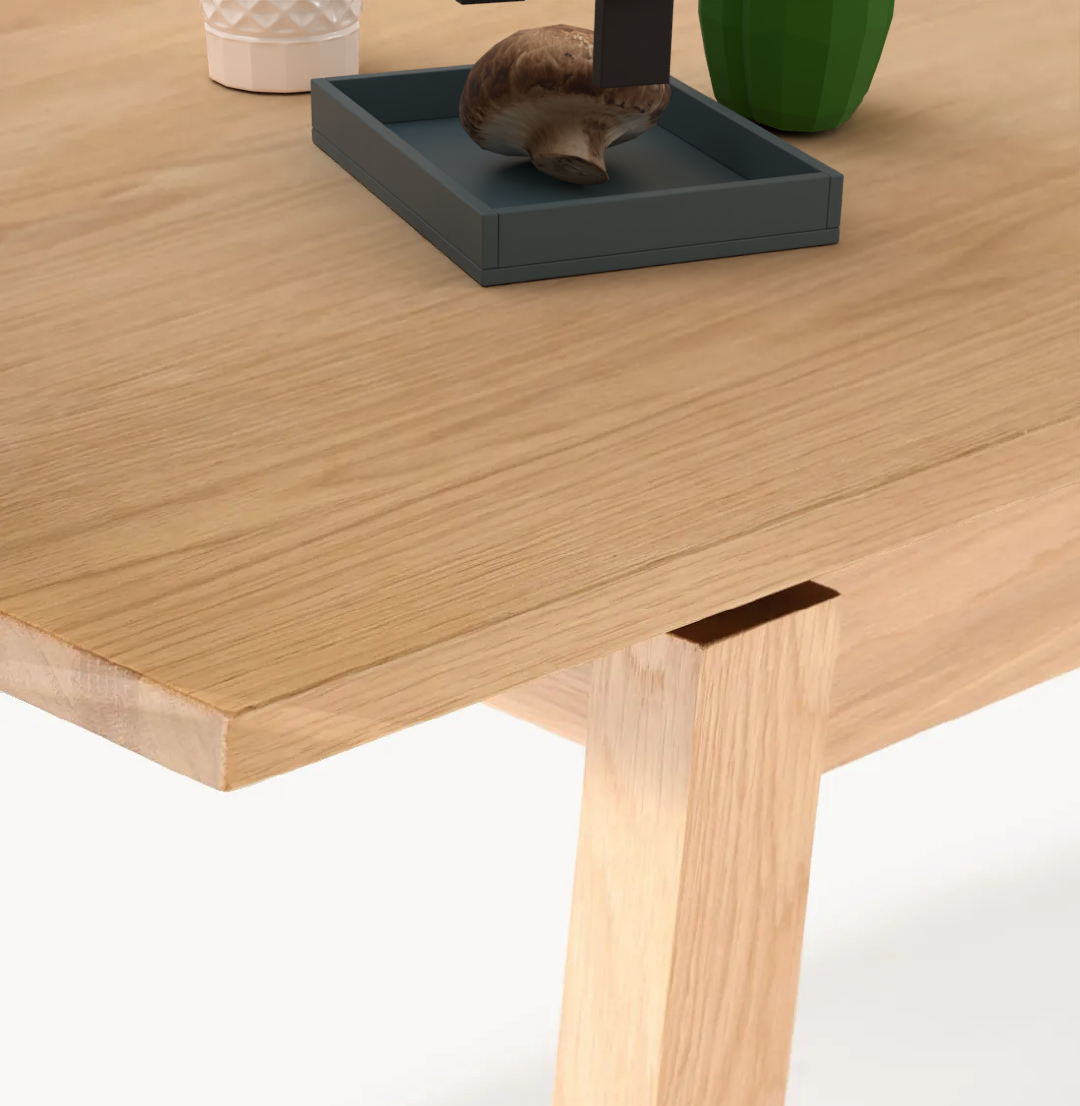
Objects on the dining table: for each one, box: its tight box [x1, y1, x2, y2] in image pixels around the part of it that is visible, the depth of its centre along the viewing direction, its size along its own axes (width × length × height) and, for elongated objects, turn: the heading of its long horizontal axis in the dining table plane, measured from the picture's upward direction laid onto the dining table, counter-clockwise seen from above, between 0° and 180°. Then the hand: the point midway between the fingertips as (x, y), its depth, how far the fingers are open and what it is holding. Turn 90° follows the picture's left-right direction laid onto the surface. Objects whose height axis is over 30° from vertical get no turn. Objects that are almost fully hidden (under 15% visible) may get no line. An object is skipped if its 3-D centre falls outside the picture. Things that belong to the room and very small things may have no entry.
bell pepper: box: [697, 0, 896, 133], centre depth 106 cm, size 8×8×10 cm
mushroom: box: [459, 23, 671, 185], centre depth 97 cm, size 8×8×6 cm
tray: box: [310, 63, 845, 287], centre depth 98 cm, size 14×19×3 cm
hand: (556, 41), depth 96 cm, fingers open, 13 cm apart
